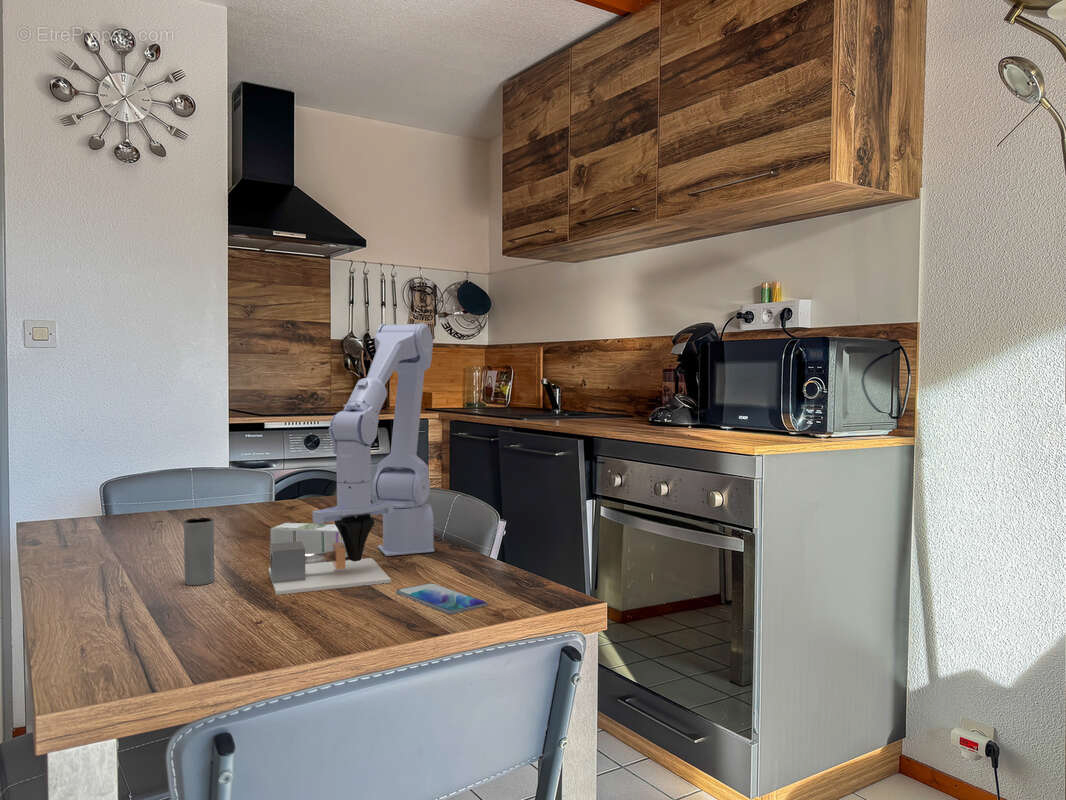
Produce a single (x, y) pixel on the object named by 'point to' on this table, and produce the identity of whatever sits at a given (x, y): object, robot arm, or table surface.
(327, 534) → the syrup box
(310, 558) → the shaft
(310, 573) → the mounting plate
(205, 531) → the grey cylinder
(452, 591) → the smartphone
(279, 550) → the bearing block
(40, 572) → the table surface
